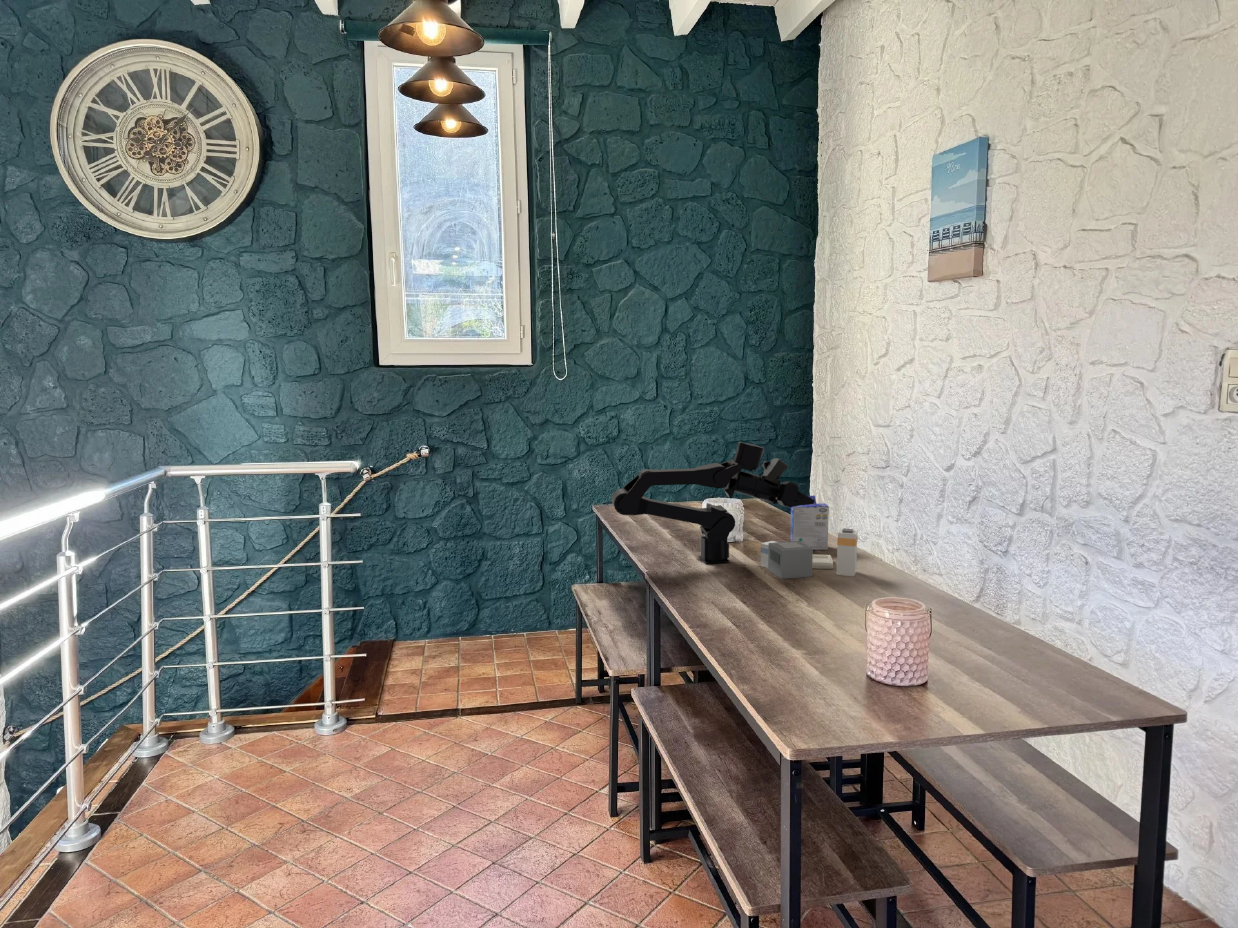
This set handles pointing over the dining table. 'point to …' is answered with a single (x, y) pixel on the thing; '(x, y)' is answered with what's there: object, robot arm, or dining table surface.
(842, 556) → the block
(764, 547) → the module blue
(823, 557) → the tray
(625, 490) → the robot arm
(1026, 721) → the dining table surface
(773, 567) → the block
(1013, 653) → the dining table surface
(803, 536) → the ink cartridge box
